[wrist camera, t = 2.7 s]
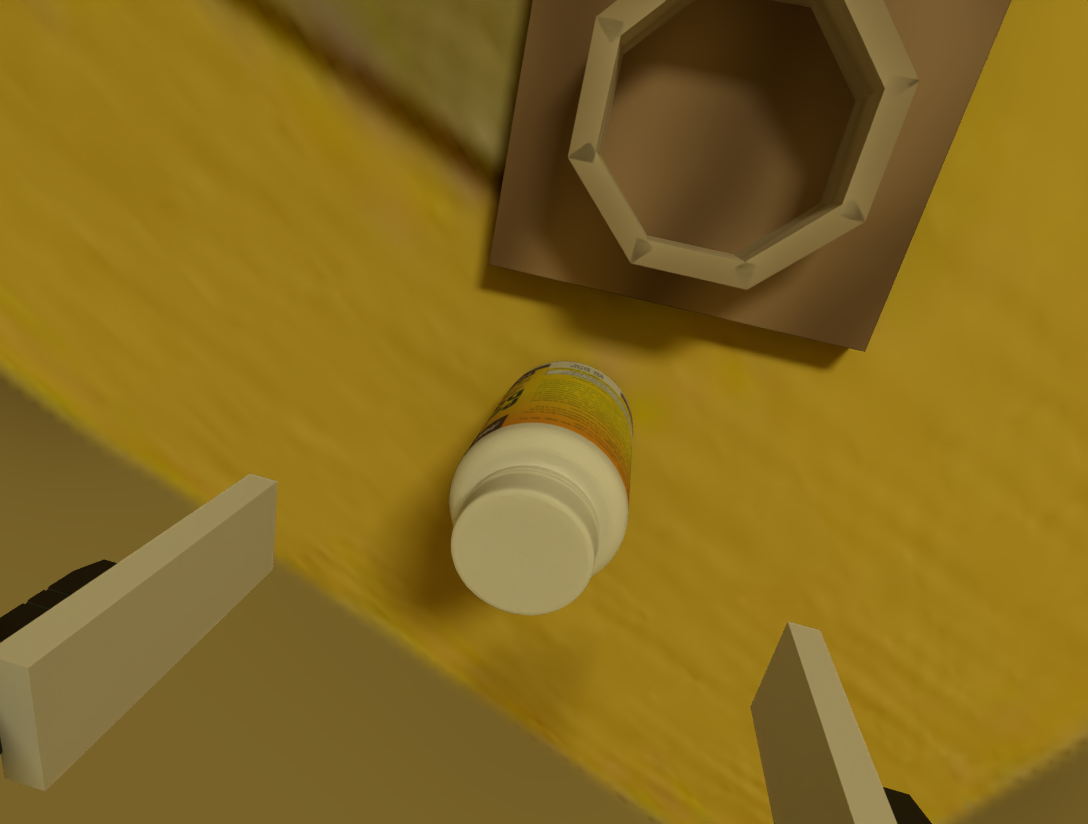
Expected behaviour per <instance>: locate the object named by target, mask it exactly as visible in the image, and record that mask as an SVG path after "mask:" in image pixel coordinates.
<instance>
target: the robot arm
mask: <svg viewBox="0 0 1088 824" xmlns="http://www.w3.org/2000/svg"><path fill="white" fill-rule="evenodd" d="M276 500H277V481H275V480H271V479H268V478H264V477H260V476H257V475H253V474H249V475H247V476H246V477H244V478H243V479H241V480H240V481H238V482H237V483H235V484H234V485H232V486H231V487H230V488H228V489H227V490H225V491H224V492H222V493H221V494H219V495H218V496H216V497H215V498H213V499H212V500H210V501H209V502H207V503H206V504H204V505H203V506H201V507H200V508H199V509H197V510H196V511H194V512H193V513H191V514H190V515H188V516H187V517H185V518H184V519H182V520H181V521H179V522H178V523H176V524H175V525H173V526H172V527H171V528H169V529H168V530H166V531H165V532H163V533H162V534H160V535H159V536H157V537H156V538H154V539H153V540H151V541H150V542H149V543H147V544H145V545H144V546H143V547H141V548H140V549H138V550H137V551H135V552H134V553H132V554H131V555H129V556H128V557H126V558H125V559H123V560H122V561H121V562H119V563H114V562H111V561H107V560H102V561H99V562H96V563H93V564H91V565H88V566H85V567H83V568H80V569H77V570H75V571H73V572H71V573H69V574H68V575H66V576H65V577H63V578H62V579H60V580H59V581H57V582H56V583H54V584H52V585H51V586H49V588H48V590H47V591H45V590H43V591H41V592H40V593H38V594H37V595H35V596H34V597H32V598H30V599H29V600H28V602H27V603H26V604H21V605H19V606H18V607H16V608H15V609H13V610H12V611H10V612H9V613H7V614H5V615H4V616H2V617H1V618H0V754H1V757H2V763H3V769H4V775H5V778H7V779H10V780H13V781H16V782H19V783H22V784H25V785H28V786H31V787H34V788H37V789H40V790H43V791H46V790H47V789H48V788H49V787H50V786H51V785H52V784H53V783H54V782H55V781H56V780H57V779H58V778H59V777H60V776H61V775H62V774H63V773H64V772H65V771H66V770H67V769H68V768H69V767H70V766H71V765H72V764H74V763H75V762H76V761H77V760H78V759H79V758H80V757H81V756H82V755H83V754H84V753H85V752H86V751H87V750H88V749H89V748H90V747H91V746H92V745H93V744H94V743H95V742H96V741H97V740H98V739H99V738H100V737H101V736H102V735H103V734H104V733H105V732H106V731H107V730H108V729H109V728H111V727H112V725H114V724H115V723H116V722H117V721H118V720H119V719H120V718H121V717H122V716H123V715H124V714H125V713H126V712H127V711H128V710H129V709H130V708H131V707H132V706H133V705H134V704H135V703H136V702H137V701H138V700H139V699H140V698H141V697H142V696H143V695H144V694H145V693H146V692H147V691H148V690H149V689H150V688H151V687H153V686H154V685H155V684H156V683H157V682H158V681H159V680H160V679H161V678H162V677H163V676H164V675H165V674H166V673H167V672H168V671H169V670H170V669H171V668H172V667H173V666H174V665H175V664H176V663H177V662H178V661H179V660H180V659H181V658H182V657H183V656H184V655H185V654H186V653H188V651H190V649H192V648H193V647H194V646H195V645H196V644H197V643H198V642H199V641H200V640H201V639H202V638H203V637H204V636H205V635H206V634H207V633H208V632H209V631H210V630H211V629H212V628H213V627H214V626H215V625H216V624H217V623H218V622H219V621H220V620H221V619H222V618H223V617H224V616H225V615H227V614H228V613H229V611H231V610H232V609H233V608H234V607H235V606H236V605H237V604H238V603H239V602H240V601H241V600H242V599H243V598H244V597H245V596H246V595H247V594H248V593H249V592H250V591H251V590H252V589H253V588H254V587H255V586H256V585H257V584H258V583H259V582H260V581H261V580H262V579H263V578H264V577H265V576H267V575H268V574H269V572H271V571H272V570H273V561H274V540H275V520H276ZM751 712H752V717H753V722H754V727H755V731H756V736H757V741H758V746H759V751H760V756H761V761H762V766H763V771H764V776H765V781H766V786H767V791H768V796H769V801H770V806H771V811H772V816H773V821H774V824H932V823H931V822H930V821H929V819H928V818H927V817H926V816H925V814H924V813H923V812H922V810H921V809H920V808H919V807H918V805H917V804H916V803H915V801H914V800H913V799H912V798H911V796H910V795H909V794H905V793H902V792H898V791H895V790H892V789H888V788H885V787H882V784H881V782H880V779H879V777H878V774H877V772H876V769H875V767H874V764H873V762H872V759H871V757H870V754H869V752H868V749H867V747H866V744H865V742H864V739H863V737H862V734H861V732H860V729H859V726H858V724H857V721H856V719H855V716H854V714H853V711H852V709H851V706H850V704H849V701H848V699H847V696H846V694H845V691H844V689H843V686H842V684H841V681H840V679H839V676H838V674H837V671H836V669H835V666H834V664H833V661H832V659H831V656H830V654H829V651H828V649H827V646H826V644H825V641H824V639H823V636H822V634H821V631H820V630H817V629H814V628H810V627H806V626H803V625H799V624H795V623H792V622H787V625H786V627H785V629H784V631H783V634H782V636H781V638H780V641H779V643H778V645H777V647H776V650H775V652H774V654H773V657H772V659H771V661H770V663H769V666H768V668H767V670H766V673H765V675H764V677H763V679H762V682H761V684H760V686H759V689H758V691H757V693H756V695H755V698H754V700H753V702H752V705H751Z"/></svg>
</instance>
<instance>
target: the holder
mask: <svg viewBox="0 0 1088 824" xmlns="http://www.w3.org/2000/svg"><path fill="white" fill-rule="evenodd" d="M1010 2H1011V0H533V2H532V8H531V14H530V20H529V26H528V32H527V38H526V44H525V50H524V56H523V62H522V68H521V74H520V80H519V86H518V92H517V98H516V104H515V110H514V116H513V122H512V128H511V134H510V140H509V146H508V153H507V159H506V165H505V171H504V177H503V183H502V189H501V195H500V201H499V207H498V213H497V219H496V225H495V231H494V237H493V243H492V249H491V255H490V261H489V264H490V265H494V266H498V267H503V268H507V269H511V270H516V271H520V272H524V273H528V274H533V275H537V276H541V277H546V278H550V279H554V280H558V281H563V282H567V283H571V284H576V285H580V286H584V287H589V288H593V289H597V290H601V291H606V292H610V293H614V294H619V295H623V296H627V297H632V298H636V299H640V300H644V301H649V302H653V303H657V304H662V305H666V306H670V307H675V308H679V309H683V310H687V311H692V312H696V313H700V314H705V315H709V316H713V317H718V318H722V319H726V320H730V321H735V322H739V323H743V324H748V325H752V326H756V327H761V328H765V329H769V330H773V331H778V332H782V333H786V334H791V335H795V336H799V337H804V338H808V339H812V340H816V341H821V342H825V343H829V344H834V345H838V346H842V347H847V348H851V349H855V350H859V351H864V352H865V350H866V348H867V346H868V343H869V341H870V338H871V336H872V334H873V331H874V329H875V326H876V324H877V322H878V319H879V317H880V314H881V312H882V310H883V307H884V305H885V302H886V300H887V298H888V295H889V293H890V290H891V288H892V285H893V283H894V281H895V278H896V276H897V273H898V271H899V269H900V266H901V264H902V261H903V259H904V257H905V254H906V252H907V249H908V247H909V245H910V242H911V240H912V237H913V235H914V233H915V230H916V228H917V225H918V223H919V221H920V218H921V216H922V213H923V211H924V209H925V206H926V204H927V201H928V199H929V197H930V194H931V192H932V189H933V187H934V185H935V182H936V180H937V177H938V175H939V173H940V170H941V168H942V165H943V163H944V161H945V158H946V156H947V153H948V151H949V149H950V146H951V144H952V141H953V139H954V137H955V134H956V132H957V129H958V127H959V125H960V122H961V120H962V117H963V115H964V113H965V110H966V108H967V105H968V103H969V101H970V98H971V96H972V93H973V91H974V89H975V86H976V84H977V81H978V79H979V77H980V74H981V72H982V69H983V67H984V65H985V62H986V60H987V57H988V55H989V53H990V50H991V48H992V45H993V43H994V41H995V38H996V36H997V33H998V31H999V29H1000V26H1001V24H1002V21H1003V19H1004V17H1005V14H1006V12H1007V9H1008V7H1009V5H1010Z"/></svg>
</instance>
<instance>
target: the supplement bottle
mask: <svg viewBox="0 0 1088 824" xmlns="http://www.w3.org/2000/svg"><path fill="white" fill-rule="evenodd" d="M632 440H633V421H632V415H631V411H630V408H629V405H628V402H627V400H626V398H625V396H624V394H623V393H622V391H621V390H620V388H619V387H618V386H617V385H616V384H615V383H614V382H613V381H612V380H611V379H610V378H609V377H608V376H606V375H605V374H604V373H602V372H600V371H599V370H597V369H595V368H593V367H591V366H588V365H585V364H581V363H576V362H567V361H560V362H552V363H548V364H544V365H541V366H538V367H536V368H534V369H532V370H530V371H529V372H527V373H526V374H524V375H523V376H522V377H521V378H520V379H519V380H518V381H517V382H516V383H515V384H514V385H513V386H512V388H511V389H510V390H509V391H508V393H507V394H506V396H505V397H504V399H503V400H502V402H501V403H500V404H499V406H498V407H497V409H496V410H495V412H494V413H493V415H492V416H491V417H490V419H489V420H488V422H487V423H486V425H485V426H484V428H483V429H482V430H481V432H480V433H479V435H478V436H477V438H476V439H475V440H474V442H473V443H472V445H471V446H470V448H469V449H468V450H467V452H466V453H465V455H464V456H463V458H462V460H461V461H460V463H459V465H458V467H457V469H456V471H455V473H454V476H453V479H452V482H451V486H450V492H449V509H450V516H451V521H452V524H453V530H452V536H451V555H452V559H453V563H454V566H455V569H456V571H457V572H458V574H459V576H460V578H461V579H462V581H463V582H464V584H465V585H466V586H467V587H468V588H469V589H470V590H471V591H472V592H473V593H474V594H475V595H476V596H477V597H478V598H480V599H481V600H483V601H484V602H486V603H487V604H489V605H491V606H493V607H495V608H497V609H500V610H503V611H506V612H509V613H514V614H519V615H539V614H546V613H550V612H553V611H556V610H559V609H561V608H563V607H565V606H566V605H568V604H570V603H571V602H573V601H574V600H575V599H576V598H577V597H578V596H579V595H580V594H581V593H582V592H583V591H584V589H585V588H586V586H587V584H588V583H589V581H590V579H591V577H592V576H593V575H595V574H596V573H598V572H599V571H600V570H602V569H603V568H604V567H605V566H606V565H607V564H608V563H609V562H610V561H611V559H612V558H613V557H614V555H615V554H616V552H617V551H618V549H619V547H620V545H621V543H622V541H623V538H624V535H625V531H626V527H627V522H628V512H629V492H630V473H631V457H632Z"/></svg>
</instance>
